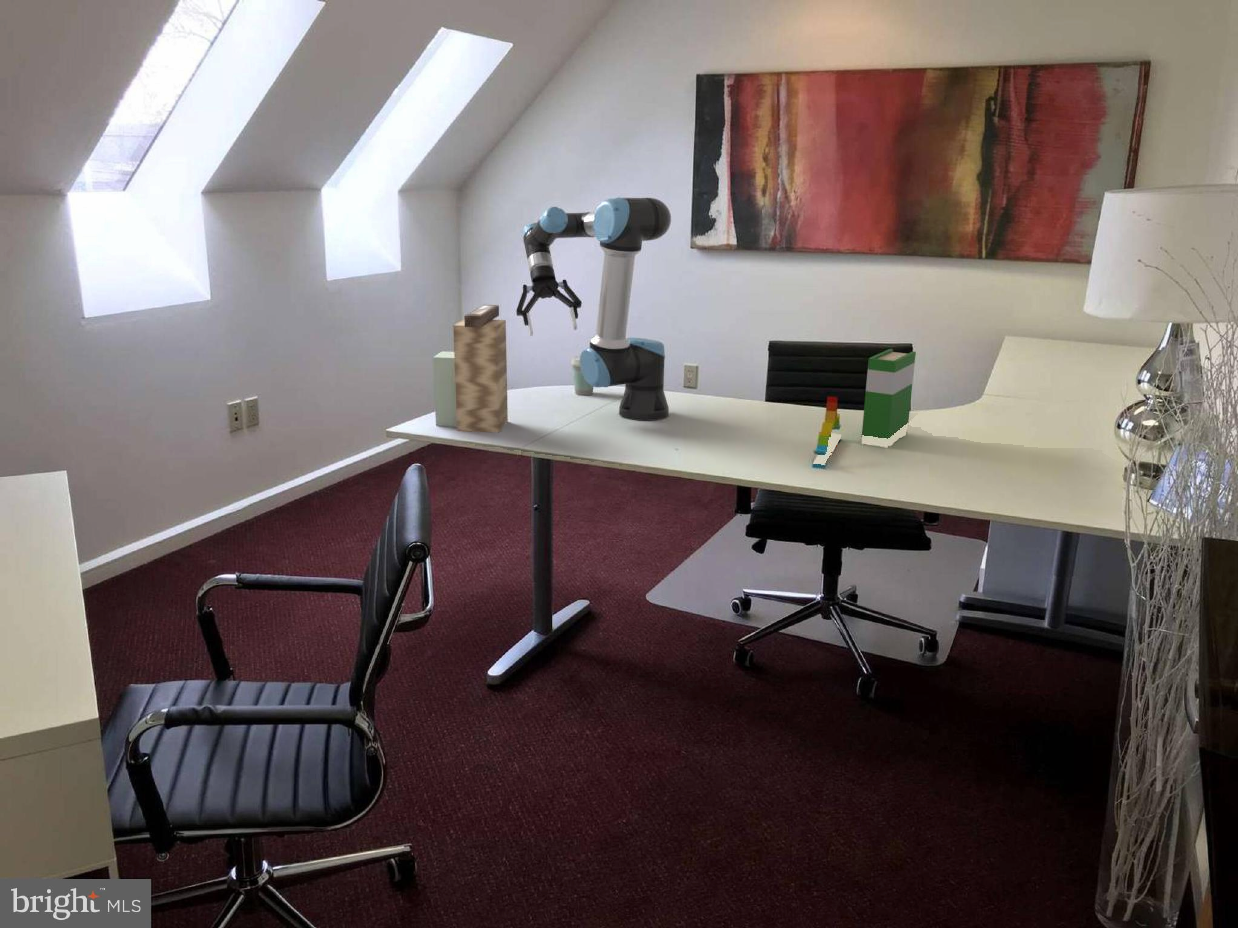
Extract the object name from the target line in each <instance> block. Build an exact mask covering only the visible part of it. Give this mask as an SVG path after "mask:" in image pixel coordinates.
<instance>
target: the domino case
mask: <svg viewBox="0 0 1238 928" xmlns="http://www.w3.org/2000/svg"><path fill="white" fill-rule="evenodd" d="M499 316H500V305H499V304H497V305H496V304H483V305H481V306H479V307H477V308H476V309H474V310H472V311H470V312H468V313H467V314H466V315H464V317H463V318H464V320H465V327H482V326H484V325H485V324H487V323H488V322H490V321H491V320H496V318H498V317H499Z"/></svg>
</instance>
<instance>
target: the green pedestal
mask: <svg viewBox="0 0 1238 928" xmlns="http://www.w3.org/2000/svg"><path fill="white" fill-rule="evenodd" d="M432 365H433V366H432V368H433V386H434V387H433V388H434V410H435V411H434V412H435V415H434V416H435V426H441V427H457V413H456V386H455V359H454V351H440V352H439V353H437V354H436V355H434V356H433V357H432Z"/></svg>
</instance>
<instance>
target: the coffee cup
mask: <svg viewBox="0 0 1238 928" xmlns="http://www.w3.org/2000/svg"><path fill="white" fill-rule="evenodd" d="M571 366H572V375H573V384H574V385H573V386H574V394H575V395H577V396H591V395H593V394H594V387H593V386H591V385H590V384H589V383H588V382H587V381H586V380H585V378H584V376H583V374H582V371H581V367H580V355H578V356H574V357H572V360H571Z"/></svg>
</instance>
